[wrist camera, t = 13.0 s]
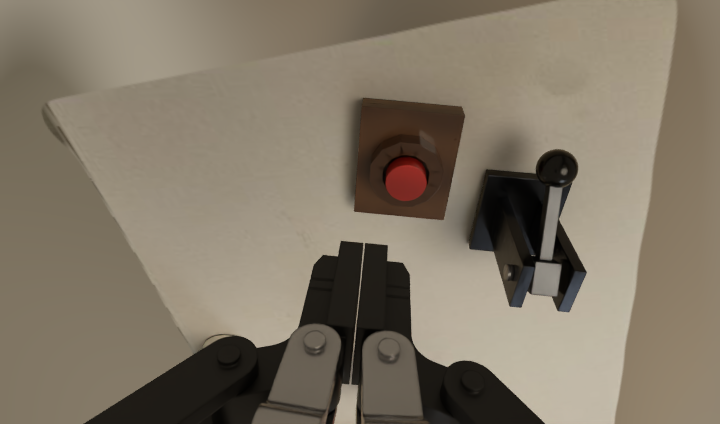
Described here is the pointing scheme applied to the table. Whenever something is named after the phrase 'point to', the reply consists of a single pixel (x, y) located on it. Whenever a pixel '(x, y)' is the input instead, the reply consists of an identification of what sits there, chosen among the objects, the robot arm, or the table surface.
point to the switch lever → (550, 218)
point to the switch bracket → (522, 235)
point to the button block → (406, 154)
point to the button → (405, 178)
